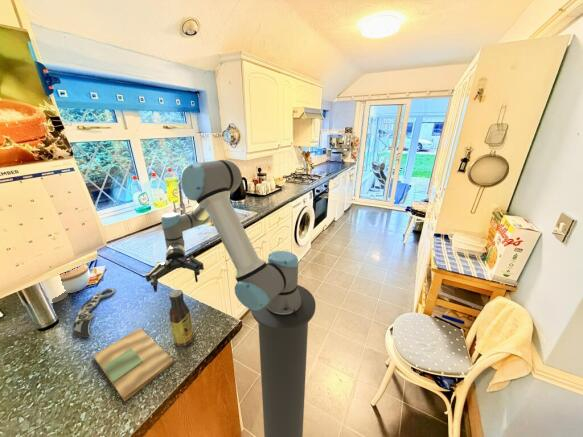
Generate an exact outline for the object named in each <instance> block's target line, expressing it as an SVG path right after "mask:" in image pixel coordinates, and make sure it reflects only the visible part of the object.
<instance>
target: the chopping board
mask: <svg viewBox="0 0 583 437" xmlns="http://www.w3.org/2000/svg"><path fill="white" fill-rule="evenodd" d="M93 358H94V360H95V362H96V363H97V365H98V366H99V367H100V369H101V370H102V372H103V373H104V375H105V376H106V378H107V379H108V380H109V382H110V383H111V384H112V386H113V388H114V389H115V390H116V392H117V393H118V395H119V397H121V399H122V400H123V402H126V401H128V400H129V399H131V398H132V397H133V396H134V395H135V394H137V393H138V392H140V390H142V389H143V388H144V387H146V386H147V385H148V384H149V383H151V382H152V381H153V380H154V379H155V378H157V377H158V376H159V375H160V374H162V373H163V372H164V371H165V370H167V369H168V368H169V367H171V366H172V365H173V364H174V359H173V358H172V357H171V356H170V355H169V354H168V353H167V352H166V351H165V350H164V349H163V348H162V347H161V346H160V345H159V344H158V343H157V342H156V341H155V340H154V339H153V338H152V337H151V336H150V335H149V334H147V333H146V331H145V330H144V329H143V328H141V327H138V328H136V329H135V330H133V331H131V332H130V333H128V334H127V335H125V336H123V337H122V338H120V339H118V340H116V341H115V342H113V343H112V344H110V345H108V346H107V347H105V348H103V349H102V350H100V351H98V352H97V353H95V354H94V355H93Z"/></svg>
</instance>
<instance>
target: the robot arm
mask: <svg viewBox="0 0 583 437" xmlns="http://www.w3.org/2000/svg"><path fill="white" fill-rule="evenodd" d="M180 177H181V179H180V183H181V188H182V192H183V194H184V196H185V198H187V199H188V200H189V201H196V203H197V204H196V205H195V207H194V208H193V209H192V210H191V211H190V212H187V213H184V214H181V215H180V214H179V213H177V212H169V213H168V212H167V213H165V214H163V215H162V216H161V227H162V231H163V235H164V241H165V246H166V250H165V251H166V252H165V261H164V262H160V261H157V262H156V264H155V265H154V267H152V268H151V269H150V270H149V271H148V272H147V273H146V274H145V279H146V282H148V283H149V282H150V285H151V286H152V289H153V292H154V293H155V292H158V283H159V280H158V279H160V278H161V277H162V276H163V275H165V274H166V273H169V272H171V271H172V270H176V269H181V268H182V269H184V270H185V269H187V270H189V271H193V273H194V281H195V283H198V282H199V279H198V276H200V275H201V272H200V271H204V270H205V266H204V263H203V262H202V261H199V259H197V258H196V257H194V256H193V255H190V256H189V257H188V258H186V250H185V240H184V235H183V232H185V231H188V230H190V229H194V228H196V227H199V226H203V225H205V224H206V223H209V221H210V220H211V222H212V224H213V227H214V229H215V231H216V232H217V235H218V236H219V238H220V240H221V242H222V244H223V246H224V248H225V251H226V253H227V254H228V256H229V258H230V260H231V262H232V264H233V266H234V268H235V270H236V273H235V274H234V278H235V280H236V283H235V285H234V295H235V296H236V298H237V300H238V301H239V302H240V303H241V304H242V305H243V306H244V307H245V308H247V309H248V310H250V311H251V310H260V309H262V308H263V307H264V306H266V308H267V310H268V311H269V312H270V313H272V314H274V315H278V316H288V315H292V314H294V313H295V315H297V313H296V312H297V311H298V310H299V309H300V307H301V296H300V294H299V291H298V288H297V285H299V280H298V279H299V258H298V256H297V255H296V254H294V253H293V252H290V251H288V250H276V251H275V250H274V251H272V252H270V253H269V254H268V257H267V262H266V260H265V259H261V258H260V257H259V256H258V254H257V252H256V250H255V247H254V245H253V244H252V242H251V240H250V238H249V235H248V234H247V232H246V230H245V228H244V226H243V223H242V222H241V220H240V218H239V215H238V214H237V211H236V210H235V208H234V206H233V204H232V202H231V200H230V196H231V195H233V194H234V193H235V192H236V191H237V189H238V188H239V187H240V185H241V183H242V172H241V169H240V167H239V166H238V164H235V162H232V161H231V160H227V159H219V160H212V161H203V162H195V163H191V164H188V165H186V166H184V168H183V170H182V172H181V176H180Z"/></svg>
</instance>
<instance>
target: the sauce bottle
mask: <svg viewBox="0 0 583 437" xmlns="http://www.w3.org/2000/svg"><path fill="white" fill-rule="evenodd" d="M168 299H169V300H170V306H171V307H170V308H169V312H168V315H169V323H170V327H171V332H172V337H173V341H174V344H175V345H176V346H177V347H180V348H183V347H186V346H188V345H190V344H191V343H192V342H193V340H194V329H193V321H192V317H191V311H190V308H189V307H188V305H187V303H185V300H184V292H183V290H182V289H174V290H172V291H171V292H170V293H169V294H168Z"/></svg>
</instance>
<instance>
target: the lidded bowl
mask: <svg viewBox="0 0 583 437" xmlns="http://www.w3.org/2000/svg"><path fill="white" fill-rule="evenodd" d="M83 264H84V265H82V266H80V267H78V268H75V269H73V270H71V271H68V272H66V273H63V274H61V275H60V277H61V281H62V285H63V286H64V289H65V290H66V291H67V292H66V293H69V294H71V293H76V292H80V291H82V290H83V289H84V288H86V286H87V285H88V283H89V282H90V280H91V279H90V278H91V273H90V269H89V266H88V264H86V263H83Z"/></svg>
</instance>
